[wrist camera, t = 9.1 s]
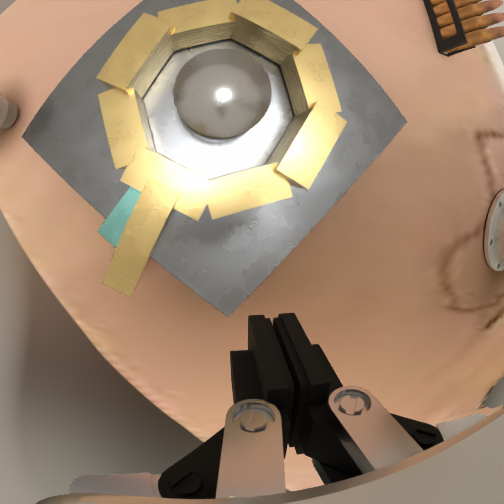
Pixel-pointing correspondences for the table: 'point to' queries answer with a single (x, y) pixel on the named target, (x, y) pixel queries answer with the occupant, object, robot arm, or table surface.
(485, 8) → the ammunition clip
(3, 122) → the lightbulb
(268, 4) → the ring nut
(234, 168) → the housing
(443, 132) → the table surface
